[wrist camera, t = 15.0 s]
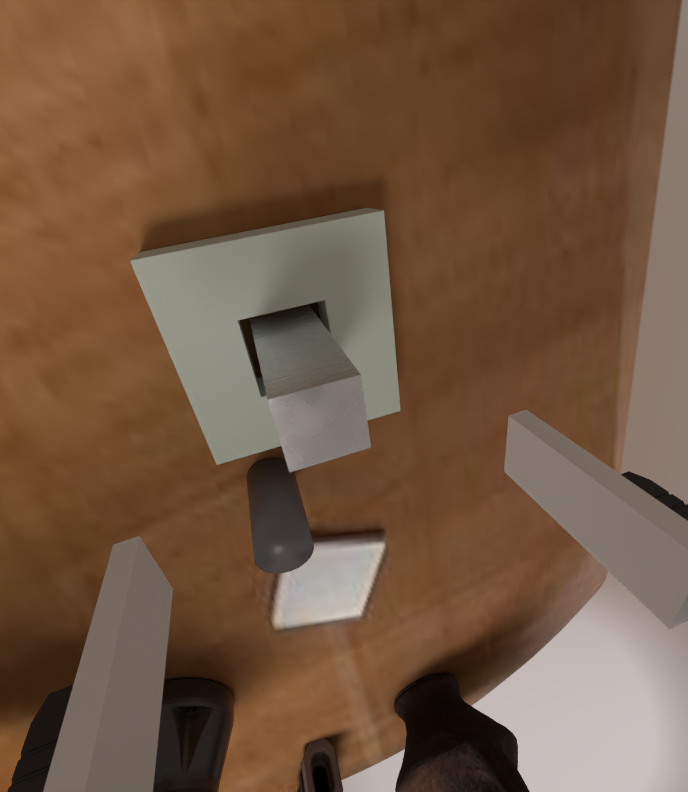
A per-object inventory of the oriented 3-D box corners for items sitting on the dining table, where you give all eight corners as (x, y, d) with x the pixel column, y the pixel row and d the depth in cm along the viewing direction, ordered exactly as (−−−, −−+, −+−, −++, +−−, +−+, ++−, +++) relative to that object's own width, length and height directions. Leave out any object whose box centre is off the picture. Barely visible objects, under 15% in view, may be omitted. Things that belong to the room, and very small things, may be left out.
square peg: (263, 367, 28) (289, 472, 17) (248, 314, 25) (267, 399, 15) (316, 353, 28) (371, 447, 18) (305, 301, 26) (360, 374, 16)
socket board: (216, 440, 29) (216, 464, 27) (139, 252, 22) (129, 260, 19) (385, 392, 32) (400, 410, 29) (366, 207, 24) (383, 210, 22)
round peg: (253, 500, 33) (263, 580, 26) (240, 465, 31) (247, 543, 24) (298, 486, 34) (318, 561, 27) (288, 451, 32) (307, 523, 25)
